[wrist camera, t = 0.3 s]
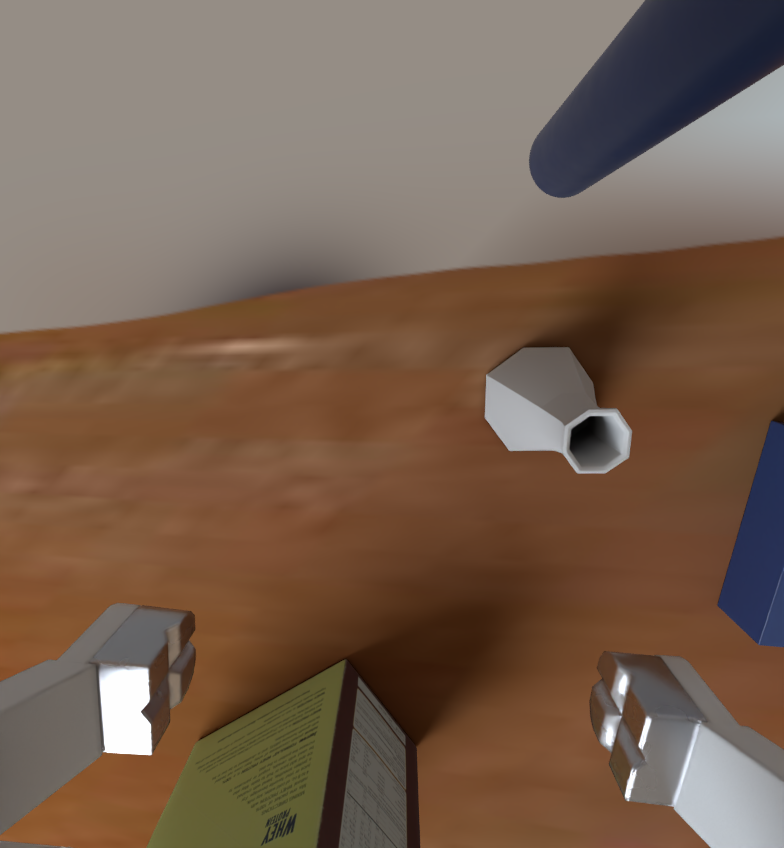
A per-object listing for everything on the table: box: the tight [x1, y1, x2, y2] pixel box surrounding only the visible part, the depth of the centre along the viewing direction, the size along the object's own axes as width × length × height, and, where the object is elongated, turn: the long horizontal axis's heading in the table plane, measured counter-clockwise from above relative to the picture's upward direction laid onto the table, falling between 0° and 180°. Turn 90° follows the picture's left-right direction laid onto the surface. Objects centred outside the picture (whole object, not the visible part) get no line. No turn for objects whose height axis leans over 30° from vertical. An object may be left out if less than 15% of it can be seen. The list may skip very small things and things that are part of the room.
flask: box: [485, 347, 632, 473], centre depth 26 cm, size 7×7×10 cm
